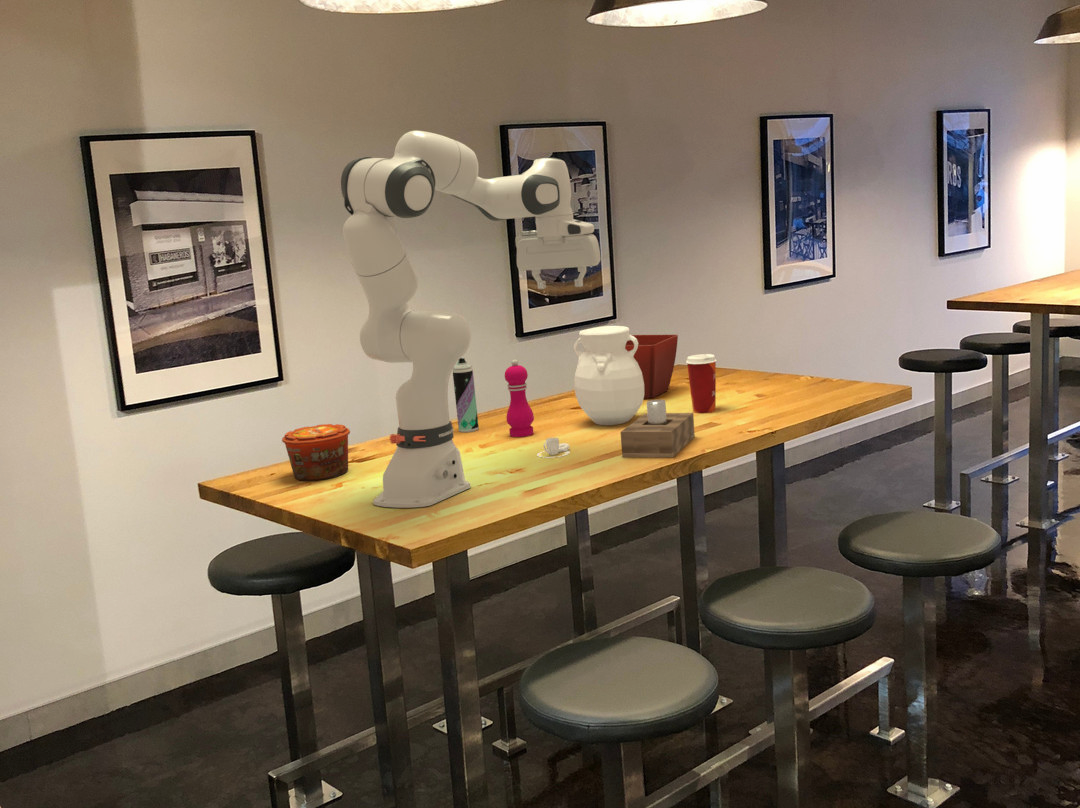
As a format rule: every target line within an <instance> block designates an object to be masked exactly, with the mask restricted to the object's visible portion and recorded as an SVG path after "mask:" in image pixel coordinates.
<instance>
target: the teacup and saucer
mask: <svg viewBox="0 0 1080 808" xmlns="http://www.w3.org/2000/svg"><path fill="white" fill-rule="evenodd" d="M543 449H544V450H543V451H540V452H538V453H536V457H538V458H541V457H542V456H543V455H541V456H539V455H540V453H542V452H545V451H546V452H545V453H547V454H548V455H549V456H544V457H545V458H544V457H543V458H542V459H553V458H554V459H555V457H556V456H555V455H556V454H557V457H556V458H561V457H565V456H567V455H570V454H571V452H570V451H569V449H570V444H569V443H564V442H563V443H560V439H559V438H558V437H548V438H546V439H545V442H544V443H543ZM559 453H564V454H562V456H561V455H558V454H559ZM565 453H566V454H565Z"/></svg>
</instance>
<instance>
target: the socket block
mask: <svg viewBox="0 0 1080 808" xmlns="http://www.w3.org/2000/svg"><path fill="white" fill-rule="evenodd" d="M666 418H667V425H648V415H647V412H646V413H644V414H642V415H641V416H640V417H639V418H637V419H636V420H634V421H633V422H632V423H631V424H629V425H628V426H626V427H625V428H624V429H622V430H621V431H620V441H621V442H620V445H621V455H622V458H650V459H651V458H653V459H654V458H655V459H656V458H658V459H659V458H661V459H662V458H667V459H668V458H669V459H671V458H672V459H673V458H674V457H675V456H676V455H677V454H679V453H680V452H681V451H682V450H683V448H685V447H686V446H687V445H688V444H689V443H690V442H691V441H692V440H693V439H694V438H695V423H694V422H695V420H694V412H666Z"/></svg>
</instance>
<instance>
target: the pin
mask: <svg viewBox="0 0 1080 808" xmlns="http://www.w3.org/2000/svg"><path fill="white" fill-rule="evenodd" d="M666 404H667V403H666V400H665V399H649V400H647V401H646V413H647V415H648V425H667V418H666V413H667V408H666V407H667V406H666Z"/></svg>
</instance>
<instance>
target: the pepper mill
mask: <svg viewBox="0 0 1080 808" xmlns="http://www.w3.org/2000/svg"><path fill="white" fill-rule="evenodd" d="M528 375H529V374H528V370H527V368H525V367H524V366H523V365H520V364H519V361H518V360H517V359H512V360H511V365H510V366H509V367H507V368H506V369H505V372H504V380H505V381H506V382H507V383H508V384H507V391H509V395H510V403H509V407H508V409H507V412H506V416H505V417H506V422H507V424H508V425H509V426H510V428H509V436H510V437H512V438H525V437H529V436H531V435H532V436H533V435H534V427H533V426H532V424H533V422H534V420H535V416H534V415H535V414H534V412H533V410H532V408H531V406H530V404H529V402H528V400H527V396H526V390H527V388H528V386H527V382H526V381H527V379H528V377H529V376H528Z"/></svg>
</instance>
